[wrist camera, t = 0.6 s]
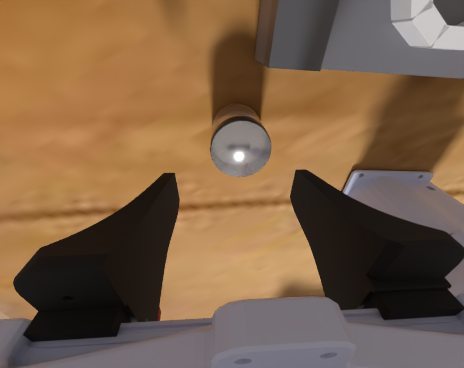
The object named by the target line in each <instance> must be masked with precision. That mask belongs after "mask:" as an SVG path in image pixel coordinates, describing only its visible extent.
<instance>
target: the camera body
mask: <svg viewBox="0 0 464 368" xmlns="http://www.w3.org/2000/svg"><path fill="white" fill-rule="evenodd" d="M254 60H256V61H258V62H259V63H261V64H263V65H265V66H266V67H268V68H280V69H294V70H309V71H320V70H321V69H329V70H344V71H358V72H373V73H387V74H402V75H416V76H431V77H445V78H460V79H464V0H261V3H260V12H259V21H258V30H257V39H256V49H255V58H254Z"/></svg>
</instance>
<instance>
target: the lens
mask: <svg viewBox="0 0 464 368" xmlns="http://www.w3.org/2000/svg"><path fill="white" fill-rule="evenodd" d="M210 151H211V157H212V160H213V162H214V164H215V165H216V166H217V168H218V169H219V170H221V171H222V172H223V173H225V174H227V175H230V176H234V177H245V176H249V175H252V174H254V173H256V172H258V171H259V170H260V169H262V168H263V167H264V166H265V164H266V163H267V161H268V159H269V157H270V154H271V140H270V137H269V135H268V133H267V131H266V130H265V128H264V127H263V125H262V123H261V122H260V120H259V118H258V116H257V114H256V113H255V111H254V110H253V109H252V108H251V107H249V106H247V105H245V104H241V103H232V104H229V105H226V106H224V107H223V108H221V109H220V110H219V111H218V112H217V114H216V115H215V117H214V120H213V126H212V138H211V148H210Z"/></svg>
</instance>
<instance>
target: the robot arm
mask: <svg viewBox="0 0 464 368" xmlns="http://www.w3.org/2000/svg"><path fill="white" fill-rule="evenodd" d="M360 174H361V175H360ZM432 177H433V173H431V172H420V171H382V170H355V171H353V172H352V173H351V175H350V177H349V179H348V181H347V184H346V186H345V188H344V190H343V192H341V191H339V190H337V189H336V188H334V187H333V186H331V185H329V184H328V183H326V182H325V181H323V180H322V179H320V178H319V177H317V176H316V175H314V174H313V173H311V172H309V171H308V170H296V171H295V176H294V180H293V185H292V190H291V194H290V198H291V202H292V206H293V209H294V212H295V214H296V216H297V218H298V220H299V223H300V225H301V227H302V229H303V231H304V233H305V236H306V238H307V240H308V242H309V245H310V247H311V250H312V253H313V256H314V259H315V262H316V266H317V269H318V272H319V275H320V279H321V283H322V286H323V290H324V294H325V297H320V296H301V297H283V298H265V299H247V300H239V301H234V302H228V303H227V304H225V305H223V306H221V307H219V308H218V309H217V310H216V311H215V313H214V315H213V317H212V318H203V319H186V320H169V321H158V313H159V304H160V296H161V289H162V282H163V275H164V269H165V263H166V257H167V251H168V247H169V244H170V240H171V236H172V233H173V229H174V226H175V222H176V219H177V215H178V209H179V201H180V199H179V194H178V188H177V183H176V178H175V173H164V174H162V175H161V176H160V177H159V178H158V179H157V180H156V181H155V182H154V183H153V184H152V185H150V186H149V187H148V188H147V189H146V190H145V191H144V192H142V193H141V194H140V195H139V196H138V197H136V198H135V199H134V200H133V201H131V202H130V203H129V204H127V205H126V206H124V207H123V208H121V209H120V210H118V211H117V212H115V213H114V214H112V215H110V216H109V217H107V218H105V219H103V220H102V221H100V222H98V223H96V224H94V225H92V226H90V227H88V228H86V229H84V230H82V231H80V232H78V233H76V234H74V235H71V236H69V237H67V238H64V239H62V240H59V241H57V242H54V243H52V244H49V245H47V246H44V247H41V248H40V249H39V250H38V251H37V252H36V253H35V255H34V256H33V257H32V258H31V259H30V260H29V262H28V263H27V264H26V265H25V266H24V267H23V269H22V270H21V271H20V272H19V273H18V274H17V276H16V277H15V278H14V281H13V284H14V287H15V290H16V291H17V293H18V294H19V295H20V296H21V297H23V298H24V299H25V300H26V301H27V302H28V303H30V304H31V305H32V306H33V307H34V308H35V309H37V310H38V313H37V314H36V316H35V317H34V319H33V320H29V319H23V318H17V319H0V368H464V204H462V203H461V202H459V201H458V200H456V199H455V198H453V197H452V196H450V195H449V194H447V193H446V192H444V191H443V190H441V189H440V188H438V187H437V186H435V185H434V184H432V183H431V182H429V181H430V180H431V179H432Z"/></svg>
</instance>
